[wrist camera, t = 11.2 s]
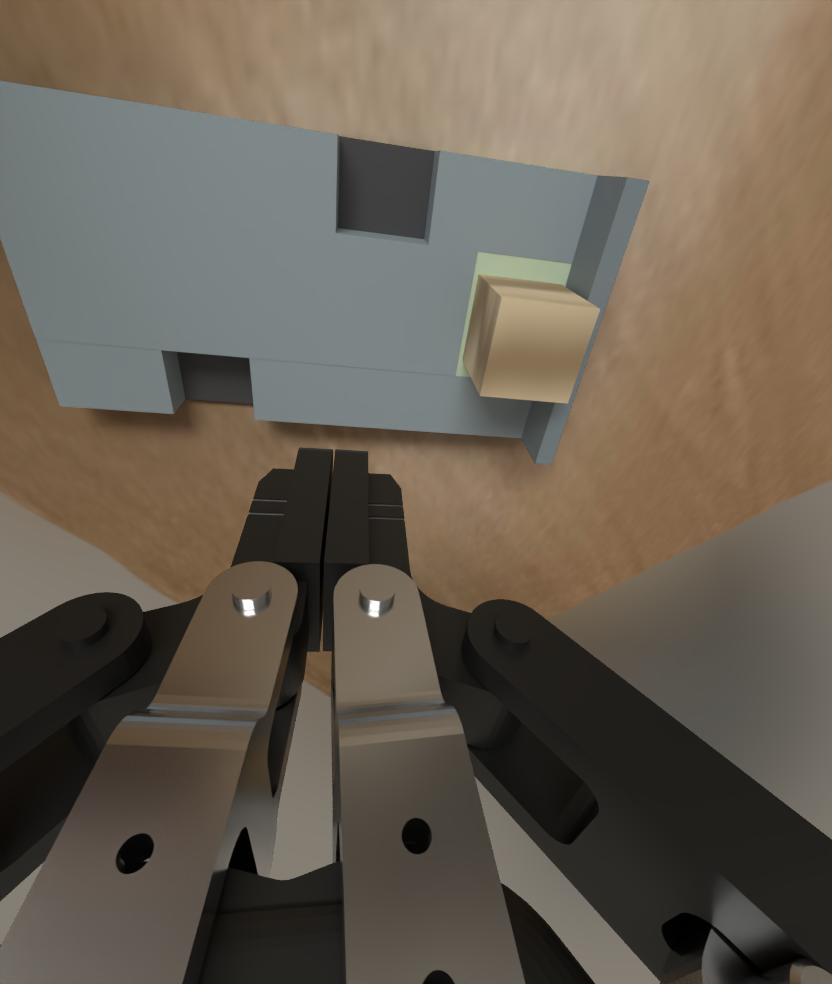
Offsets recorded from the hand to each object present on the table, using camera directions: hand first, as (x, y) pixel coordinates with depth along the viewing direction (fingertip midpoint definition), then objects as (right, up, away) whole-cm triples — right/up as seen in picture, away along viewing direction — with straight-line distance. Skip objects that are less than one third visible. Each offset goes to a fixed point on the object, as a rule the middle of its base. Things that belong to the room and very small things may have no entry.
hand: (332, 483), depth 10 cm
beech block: (+7, +9, +15) cm, 19 cm away
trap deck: (-4, +11, +15) cm, 19 cm away
